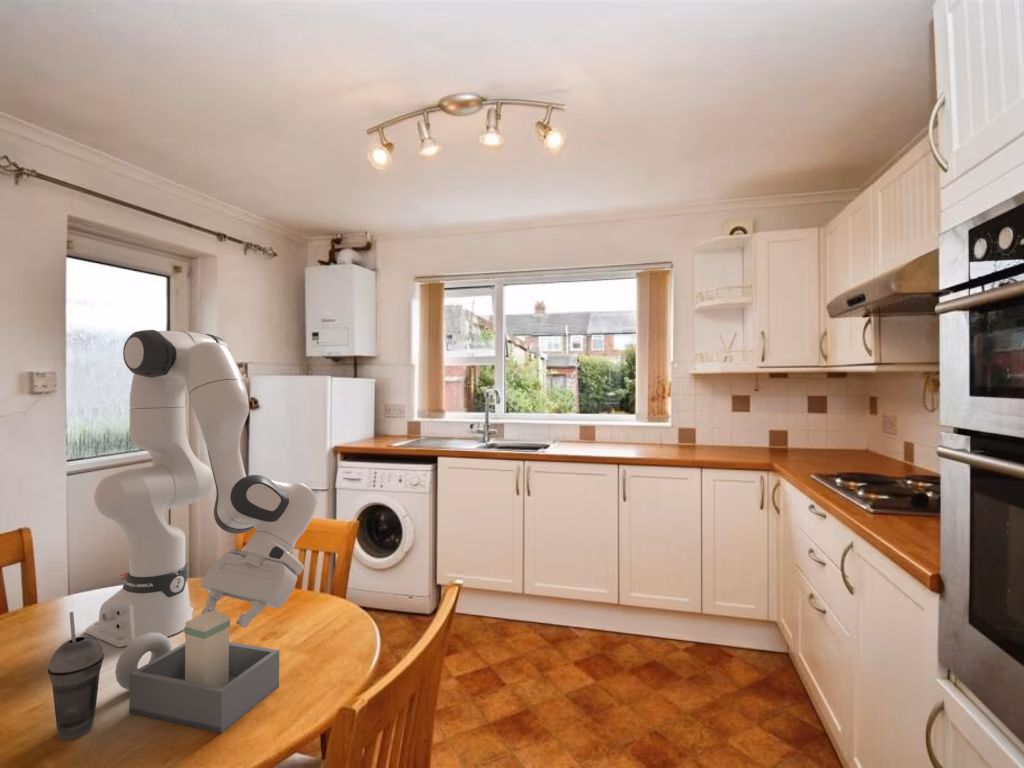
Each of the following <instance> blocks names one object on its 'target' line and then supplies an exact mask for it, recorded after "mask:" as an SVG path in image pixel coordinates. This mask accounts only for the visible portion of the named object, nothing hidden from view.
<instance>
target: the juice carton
mask: <svg viewBox="0 0 1024 768" xmlns="http://www.w3.org/2000/svg"><path fill="white" fill-rule="evenodd" d="M192 618H193V619H191V620H189V621H187V622H186V627H185V629H184V634H185V635H184V636H185V637H184V638H185V642H184V643H185V681H190V682H195V683H200V684H205V685H210V686H215V687H220V688H222V687H223V686H225V685H226V684H228V683H229V642H230V627H231V619H230V615H229V614H225V613H220V612H217V611H216V612H213V611H209V612H207V613H205V614H201V615H198V616H196V617H192Z"/></svg>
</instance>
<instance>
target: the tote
mask: <svg viewBox="0 0 1024 768" xmlns="http://www.w3.org/2000/svg"><path fill="white" fill-rule="evenodd" d="M279 687H280V650H279V649H273V648H268V647H267V648H266V647H262V646H255V645H249V644H244V643H238V642H232V641H229V683H228V684H226V685H225V686H223V687H222V688H220V687H215V686H210V685H205V684H200V683H195V682H190V681H185V642H184V643H181V644H180V645H178V646H176V647H175V648H173V649H172V650H171V651H169V652H168V653H166V654H164V655H162V656H160V657H159V658H157V659H155V660H153V661H152V662H150V663H149V662H148V663H146V664H145V665H143V666H141V667H139V668H138V669H137V670H135V671H134V672H132V673H130V677H129V694H128V697H129V698H128V699H129V701H128V702H129V703H128V707H129V708H128V714H133V715H137V716H141V717H145V718H151V719H153V720H160V721H163V722H167V723H172V724H177V725H181V726H186V727H190V728H194V729H195V728H196V729H199V730H203V731H208V732H213V733H217V734H223V733H224V732H225V731H227V730H228V729H229V728H230V727H231V726H233V725H234V724H235V723H236V722H238V721H239V720H240V719H241V718H242V717H244V716H245V715H246V714H247V713H249V712H250V711H251V710H252V709H253V708H255V707H256V706H257V705H258V704H260V703H261V702H262V701H263V700H264V699H265V698H267V697H268V696H269V695H270V694H271V693H272V692H274V691H275V690H276V689H278V688H279Z"/></svg>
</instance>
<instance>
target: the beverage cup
mask: <svg viewBox="0 0 1024 768" xmlns="http://www.w3.org/2000/svg"><path fill="white" fill-rule="evenodd" d="M68 614H69V623H70V624H69V626H70V634H71V639H68V640H67V641H65V642H63V643H62V644H61V645H60V646H59V647H58V648H57V649H56V650H55V652H53V655H52V656H51V658H50V659H51V660H50V661H49V665H48V668H47V669H48V670H47V673H48V676H49V680H50V683H51V686H52V687H51V689H52V695H53V697H52V698H53V706H54V715H55V716H54V717H55V724H56V730H57V734H58V736H57V737H58V739H59V740H61V741H71V740H74V739H77V738H79V737H82V736H85V735H86V734H88V733H89V732H90V731H91V730H92V729H93V727H94V720H95V716H96V709H97V700H98V690H99V685H100V684H99V683H100V682H99V681H100V673H101V670H102V666H103V661H104V657H105V653H104V651H103V650H104V649H103V648H102V646H101V644H100V643H99V641H97V640H96V638H94V637H89V636H78V637H76V627H75V617H74V615H75V614H74V611H71V612H69V613H68Z"/></svg>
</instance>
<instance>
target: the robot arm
mask: <svg viewBox="0 0 1024 768" xmlns="http://www.w3.org/2000/svg"><path fill="white" fill-rule="evenodd" d="M122 351H123V352H122V357H123V361H124V364H125V365H126V368H128V370H129V371H130V372H131V373H132V374H133V376H132V379H131V385H130V394H129V439H130V441H131V442H132V443H133V445H134V446H135V447H137V448H139V449H142V450H145V451H147V452H148V454H149V455H150V457H151V459H152V466H151V465H150V466H145V467H144V466H143V467H137V468H136V467H135V468H131V469H125V470H122V471H118V472H117V473H113V474H111V475H107V476H106V477H104V478H102V479H101V480H100V482H98V484H97V486H96V487H95V491H94V505H95V508H96V509H97V511H98V512H99V513H100V514H101V515H102V516H103V517H105V518H107V519H109V520H112V521H113V522H115V523H116V524H117V525H118V526H119V527H120V529H122V531H123V533H124V535H125V536H126V537H125V538H126V540H127V546H128V560H129V565H128V566H129V568H128V569H129V571H128V572H126V573H123V574H121V575H119V576H120V577H121V578H120V579H119V580H121V581H122V580H124V583H123V585H122V588H121V589H119V590H118V591H117V592H116V593H114V594H113V595H112V596H110V597H109V598H108V599H107V600H105V601H104V603H102V604H101V606H100V609H99V615H98V620H95V622H93V623H91V624H90V625H89V626H87V627H86V628H85V632H86V633H87V634H86V633H85V634H86V635H88V634H89V635H88V636H90V635H92V636H91V637H93V636H94V637H93V638H95V637H96V638H95V639H98V638H99V639H98V640H100V639H101V641H103V640H104V641H103V642H105V641H106V643H107V642H108V643H107V644H110V645H112V646H115V647H117V648H121V647H127V646H128V645H129V644H130V643H131V642H132V641H134V640H135V639H137V638H138V637H140V636H142V635H144V634H148V633H151V632H152V633H161V634H163V635H165V636H166V637H167V638H168V637H171V636H172V635H173V636H174V635H176V634H177V633H180V632H182V631H185V627H186V622H187V621H189V620H191V619H193V618H194V617H193V613H194V608H193V607H192V606H191V599H190V592H189V591H190V588H189V584H188V581H187V580H188V572H189V569H188V563H186V539H187V538H186V534H185V532H184V531H183V530H182V529H181V528H179V527H178V526H175V525H174V524H169V523H168V522H167V519H166V516H165V512H166V511H168V510H170V509H171V510H172V509H175V508H179V507H184V506H187V505H188V506H189V505H190V504H193V503H195V502H197V501H200V500H201V499H204V498H206V497H207V496H209V495H210V493H211V491H212V489H213V486H215V491H216V498H215V501H214V502H215V503H214V508H213V519H214V521H215V523H216V525H217V526H218V527H219V528H220V529H222V530H223V532H224V531H225V532H227V533H230V534H235V535H236V534H237V535H238V534H239V535H240V534H243V533H247V532H251V531H252V530H253V529H255V531H254V532H253V534H252V535H251V537H250V538H249V540H248V541H247V543H246V545H245V546H244V547H243V549H238V548H232V550H229V551H227V552H225V553H223V555H222V556H220V557H219V559H217V560H216V561H215V563H214V564H213V565H212V566H211V568H210V569H208V571H207V573H206V574H205V575H204V576H203V577H202V578H201V582H200V586H201V588H203V589H204V590H205V591H206V592H209V593H208V594H207V597H206V603H205V604H206V605H205V606H204V607H203V609H202V611H201V615H202V614H205V613H207V612H209V611H213V612H217V611H218V609H217V608H216V606H217V602H218V601H220V600H221V598H223V597H227V598H232V599H236V600H239V601H243V602H249V603H251V605H250V606H251V608H249V609H248V610H247V611H246V612H245V613H240V615H239V617H238V619H237V620H236V621H235V622H236V625H237V626H239V627H242V628H247V627H248V626H249V625H250V623H251V622H252V620H254V618H256V617H257V616H258V615H259V614H261V613H262V612H263V611H264V609H265V607H269V608H273V609H280V608H281V607H283V606H284V605H285V603H286V602H287V601H288V600H289V598H290V596H291V594H292V592H293V591H294V588H295V586H296V583H297V581H298V576H299V575H300V574H301V573H302V572H303V571H304V568H305V566H304V564H302V562H301V561H300V560H299V559H298V558H297V557H295V556H294V555H293V554H292V553H293V551H294V549H295V546H296V543H297V541H298V539H300V537H301V536H302V535H303V534H304V533H305V531H306V530H307V528H308V526H309V524H310V522H311V521H312V520H313V519H312V518H313V517H314V515H315V512H316V510H317V507H318V498H317V495H316V494H315V492H314V491H313V489H312V488H310V487H309V486H308V485H307V484H306V483H302V482H300V481H290V482H289V481H288V482H284V481H279V480H278V481H277V480H273V479H271V478H268V477H266V476H264V475H261V474H251V475H247V474H246V471H245V467H244V461H243V458H242V454H241V453H242V452H241V444H240V443H241V436H242V433H243V430H244V427H245V424H246V421H247V419H248V416H249V412H250V405H249V396H248V391H247V387H246V384H245V382H244V378H243V375H242V373H241V370H240V368H239V366H238V363H237V362H236V360H235V358H234V356H233V354H232V352H231V349H230V345H229V344H228V343H227V341H226V340H225V339H223V338H221V337H219V336H216V335H213V334H210V333H205V334H203V333H199V332H194V331H186V330H155V329H144V330H137V331H134V332H133V333H131V334H130V335H129V337H128V338H127V339H126V341H125V342H124V345H123V350H122ZM186 388H187V392H188V396H189V399H190V403H191V405H192V406H191V407H192V409H193V411H194V415H195V417H196V419H197V422H198V425H199V428H200V430H201V433H202V437H203V440H204V442H205V445H206V449H207V450H206V451H207V454H208V460H209V463H210V467H211V469H210V467H209V466H208V465H207V464H205V463H204V462H203V461H201V460H200V459H199V458H198V457H197V456H196V455H195V453H194V451H193V450H192V448H191V446H190V443H189V440H188V435H187V434H188V433H187V419H186V418H187V417H186V414H187V413H186ZM214 484H215V485H214Z"/></svg>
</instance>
